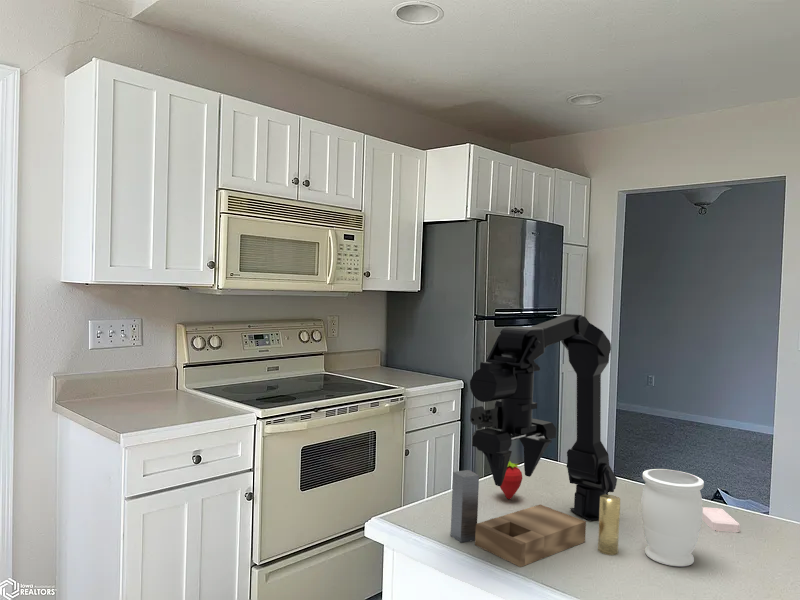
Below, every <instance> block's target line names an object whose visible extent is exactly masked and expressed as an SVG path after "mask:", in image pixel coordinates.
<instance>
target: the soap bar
mask: <svg viewBox="0 0 800 600" xmlns="http://www.w3.org/2000/svg"><path fill="white" fill-rule="evenodd" d="M702 520H703V521H704V522H705V523H706V524H707V525H708V526H709V527H710V528H711V529H712V530H711V529H710V528H709V527H708V528H709V529H710V530H711V531H713V530H716V531H715V532H719V531H732V532H739V533H740V530H741V529H740V528H741V525H740V523H739V522H738V521H736V520H735V518H734V517H732V516H731V515H730V514H729V513H728V512H726V510H724V509H723V508H717V507H707V506H706V507H705V506H703V516H702ZM703 521H702V522H703ZM704 522H703V523H704ZM705 523H704V524H705ZM706 524H705V525H706ZM707 525H706V526H707ZM732 532H731V533H732Z"/></svg>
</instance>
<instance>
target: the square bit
mask: <svg viewBox="0 0 800 600" xmlns="http://www.w3.org/2000/svg"><path fill="white" fill-rule="evenodd" d="M479 485H480V475H479V474H477V473H475V472H474V471H472V470H470V469H466V470H458V471H452V488H451V489H452V490H451V491H452V494H451V515H450V518H451V519H450V537H451V538H453V539H454V540H456V541H457V542H459V543H460V544H462V543H467V542H468V543H469V542H475V532H476V524H477V523H478V510H479V491H480V490H479V488H480V487H479Z"/></svg>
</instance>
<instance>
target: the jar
mask: <svg viewBox="0 0 800 600" xmlns="http://www.w3.org/2000/svg"><path fill="white" fill-rule="evenodd" d="M642 479H643V481H644V482H645V483H644V485H643V489H642V494H641V500H640V513H641V521H642V530H643V536H644V538H645V539H644V540H645V541H646V543H647V545H646V547H645V548H644V553H645V555H646V556H647V557H648V558H649V559H650V560H653V561H654V562H656V563H660V564H662V565H666V566H670V567H689V566H690V565H692V564H694V563H695V558H694V555H693V553H692V552H693V551H694V550H695V548H696V546H697V544H698V541H699V535H700V531H701V527H702V522H703V521H702V516H703V507H704V506H703V498H702V493H701V490H702V489H703V488H704V487H705V484H704V480H703V479H702V478H700V477H698V476H697V475H694V474H691V473H689V472H684V471H680V470H676V469H675V470H673V469H666V468H654V469H652V468H651V469H650V468H649V469H646V470H644V471H643V472H642Z"/></svg>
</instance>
